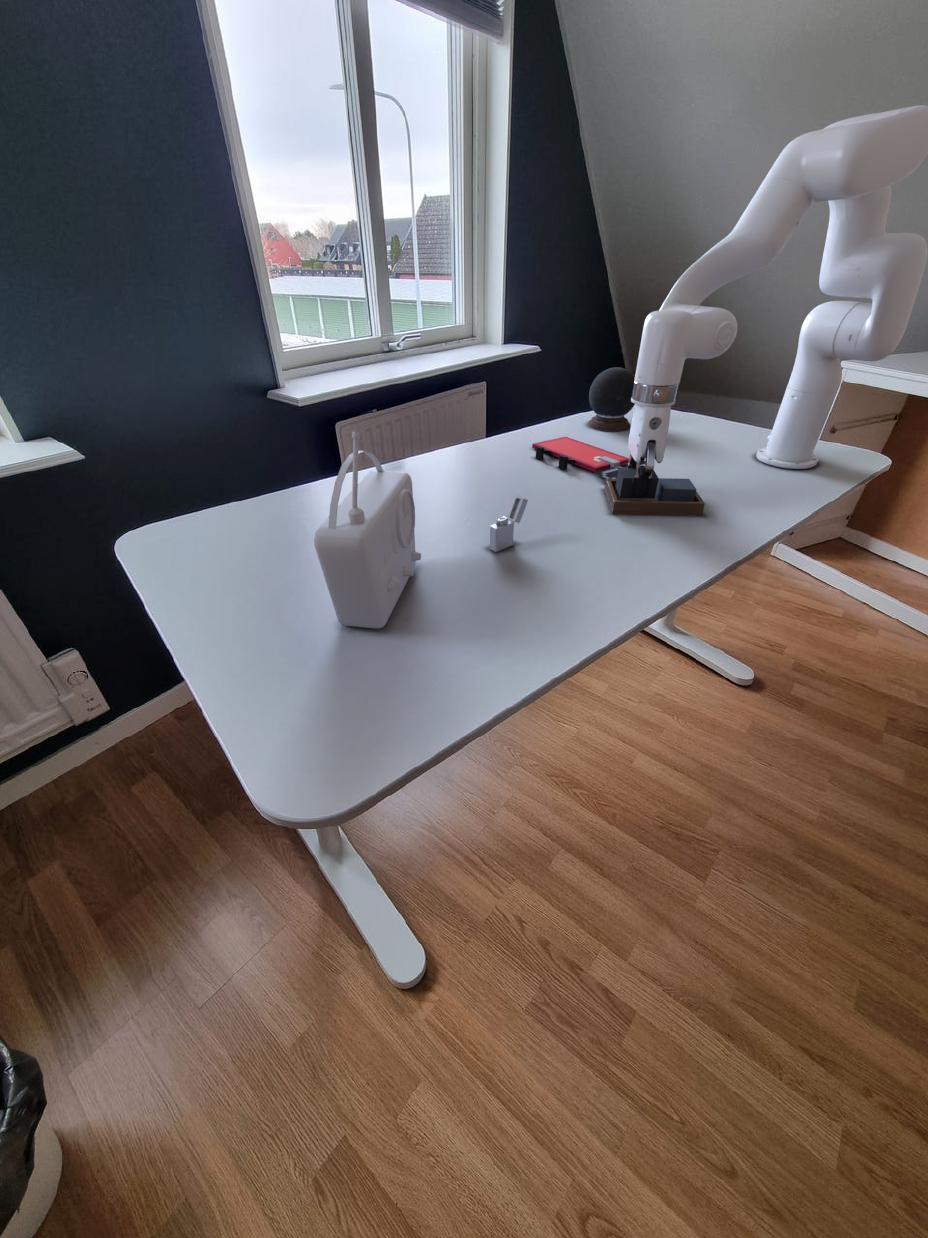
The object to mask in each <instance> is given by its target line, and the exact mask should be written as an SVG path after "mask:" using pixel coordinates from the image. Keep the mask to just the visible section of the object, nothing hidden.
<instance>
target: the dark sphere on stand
mask: <svg viewBox="0 0 928 1238" xmlns="http://www.w3.org/2000/svg"><path fill="white" fill-rule="evenodd" d="M634 379H635V375H634V374H633V373H632V372H631V371H629V370H628V369H626V368H624V367H617V366H615V367H614V366H613V367H610V368H607V369H605V370H603V371H601V372H600V373H599V374H598V375H597V376H596V377H595V378H594V379H593V381H592V383H591V385H590V388H589V393H588V401H589V406H590V408H591V409H592V411H593V412H594V414H596V415H595V416H592V417H591V418H590V420H589V421H588V426H589V428H591V429H594V430H598V431H604V432H619V431H625V430H627V429H629V428H630V422H629V420H628V419H627V418H626V417H625V416H626V415H627V414H629V413H630V412H631V411H632V409H634V408H635V403H632V402H631V397H632V391H633V386H634V381H635V380H634Z"/></svg>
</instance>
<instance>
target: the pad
mask: <svg viewBox="0 0 928 1238" xmlns="http://www.w3.org/2000/svg"><path fill="white" fill-rule="evenodd" d="M658 478H659V480H658V485H657V489H656V494H655V497H656V499H657V501H677V502H693V501H694V498H695V494H696V491H697V490H698V489H697V488H696V486H695V485H694V483H693V482H692V481H691V479H690V478H672V477H671V478H670V477H669V478H664V477H662V478H661V477H658Z"/></svg>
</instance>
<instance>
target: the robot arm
mask: <svg viewBox="0 0 928 1238" xmlns="http://www.w3.org/2000/svg"><path fill="white" fill-rule="evenodd" d="M927 156H928V105H925V104H919V105H913V106H908V107H907V106H906V107H901V108H896V109H891V110H887V111H882V112H876V113H869V114H863V115H858V116H854V117H849V118H845V119H843V120H842V119H841V120H839V121H836V122H833V123H831V124H829V125H827V126H826V127H824V128H822V129H818V130H814V131H809V132H806V133H803V134H801V135H799V136H797V137H795V138H794V139H792V140H791V141H790V142H789V143H788V144H786V146H785V147H784V148H783V149H782V151H781V152H780V153H779V155H778V156H777V158H776V160H775V161H774V163H773V164H772V166H771V167H770V168H769V169H770V170H769V171H768V173H767V174H766V176H765V177H764V179H763V181H762V182H761V184H760V185H759V187H758V189H757V190H756V192H755V194H754V195H753V197H752V198H751V200H750V201H749V203H748V204H747V206H746V208H745V210H744V211H743V212H742V214H741V216H740V218H739V220H737V223H736V224H735V226H734V227H733V229H732V230H731V231H730V232H729V234H728V235H727V236H725V237H724V238H723V239H721V240H720V241H719V242H717V243H715V245H714V246H712V247H711V248H710V249H709V250H707V251H706V252H705V253H704V254H703V255H702V256H700V257H699V258H698V259H697V260H696V261H695V262H693V263H692V264H691V265H690V266H689V267H688V268H687V269H686V270H685V271H684V272H683V273H682V274H681V275H680V276H679V277H678V279H677V280H676V282H675V283H674V284H673V286H672V288H671V289H670V291H669V293H668V295H667V296H666V298H665V299H664V301H663V302H662V305H661V306H660V308H659V310H654V311H651V312H649V314H648V315H647V316H646V318H645V320H644V322H643V323H644V324H643V328H642V333H641V340H640V346H639V351H638V357H637V363H636V369H635V375H634V377H635V379H634V380H635V381H634V386H633V391H632V397H631V402H632V403H635V405H634V407H633V412H632V413H633V414H632V419H631V423H630V427H629V428H630V429H629V435H628V442H627V448H628V451H629V453H630V454H629V457H628V458H629V461H628V464H626V465H627V466H626V468H636V473H635V477H633V480H632V485H631V491H630V498H647V495H648V490H649V486H650V481H651V477H652V472H653V471H652V470H655V462H656V463H657V464H661V463H662V462H663V461H664V457H665V451H666V445H667V441H668V440H667V439H668V434H669V428H670V423H671V422H670V421H671V412H672V406H674V405H675V404H676V401H677V396H678V392H679V387H680V383H681V380H682V379H681V378H682V375H683V369H684V366H685V361H686V360H687V359H696V360H698V359H699V360H710V359H714V358H717V357H719V356H721V355H722V354H724V353H725V352H726V351H728V349H729V348H730V347H731V346H732V345H733V343H734V342H735V339H736V337H737V335H738V321H737V318H736V317H735V315H734V314H733V313H732V312H731V311H729V309H725V308H722V307H717V306H705V305H701V304H702V303H703V302H704V301H705V300H706V299H707V298H708V297H709V296H711V294H713V293H714V292H715V291H717V290H718V289H720V288H721V287H723V286H725V285H727V284H729V283H730V282H734V281H736V280H738V279H740V278H743V277H745V276H748V275H750V274H753V273H754V272H756V271H759V270H761V269H763V268H765V267H766V266H768V265H770V264H771V263H773V262H774V261H776V259H777V258H778V257H779V255H780V254H781V253H782V251H783V249H784V248H785V247H786V244H787V243H788V242H789V240H790V239H791V237H792V236H793V234H794V232H795V231H796V230H797V228H798V227H799V225H800V224H801V222H802V220H803V218H805V216H806V214H807V213H808V211H809V210H810V208H811V207H812V206H813V205H814V204H816V203H820V202H828V206H829V207H828V208H829V219H828V225H827V231H826V238H825V243H824V249H823V254H822V259H821V264H820V271H819V277H818V278H819V279H818V280H819V281H818V286H819V289H820V292H821V293H822V294H824V295H827V296H831V297H841V298H858V299H859V298H860V299H871V302H866V301H857V300H856V301H855V300H831V301H826V302H823V303H820V304H819V305H817V306H815V307H814V308H813V309H812V310H811V311H809V312H808V313H807V315H806V316H805V319H804V320H803V322H802V325H801V327H800V330H799V331H800V332H799V337H798V345H797V350H796V354H795V355H796V356H795V360H794V364H793V367H792V370H791V373H790V376H789V380H788V382H787V385H786V388H785V392H784V394H783V397H782V399H781V400H782V401H781V403H780V406H779V409H778V412H777V415H776V417H775V421H774V423H773V427H772V429H771V432H770V434H769V435H767V440H768V441H767V444H766V447H762V448H760V449H758V450H757V451H756V454H755V457H756V459H757V460H758V461H760V463H761V462H762V463H764V464H766V465H769V466H773V467H777V468H782V469H790V470H805V469H810V468H813V467H816V466H817V464H818V462H819V458H818V457H817V455H815V454H813V453H814V451H815V449H816V446H817V445H818V444H817V443H818V442H819V439H820V436H821V434H822V431H823V429H824V426H825V424H826V421H827V419H828V416H829V414H830V411H831V408H832V406H833V404H834V401H835V399H836V397H837V394H838V392H839V389H840V386H841V384H842V379H843V368H842V364H841V359H847V360H854V361H863V362H878V361H882V360H884V359H886V358H887V357H889V356H890V355H891V354H892V353H893V352H895V350H896V349H897V347H898V346H899V345H900V343H901V341H902V340H903V337H904V334H905V332H906V329H907V327H908V324H909V321H910V318H911V315H912V311H913V308H914V306H915V301H916V298H917V296H918V292H919V289H920V285H921V282H922V279H923V275H924V272H925V268H926V265H927V261H928V244H927V241H926V239H925V238H924V237H923V236H922V235H920V234H919V233H912V232H894V233H893V232H892V233H891V232H890V233H889V232H887V231H886V225H887V219H888V215H889V211H890V207H891V200H892V187H891V186H893V185H895V184H897V183H900V182H901V181H903V180H905V179H906V178H907V177H909V176H910V175H912V174H913V173H914V172H915V171H916V170H917V169H918V168H919V167H920V166H921V164H922V163H923V161H924V160H925V159H926V157H927ZM640 468H642V469H641V470H640Z"/></svg>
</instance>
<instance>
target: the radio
mask: <svg viewBox="0 0 928 1238" xmlns="http://www.w3.org/2000/svg"><path fill="white" fill-rule="evenodd" d="M360 438H361V432H359V431H352V432H351V439H352V453H350V454H349V455H348V456H347V457H346V459H345V460H344V461H343V463H342V464H341V466H340V468H339V471H338V474H337V476H336V479H335V482H334V485H333V490H332V495H331V500H330V505H329V514H328V516H327V517H326V518H325V519H324V520H323V522H322V523H321V524H320V525H319V526H318V527H317V529H316V530H315V532H314V536H313V537H314V538H313V544H314V549H315V552H316V555H317V558H318V561H319V564H320V565H319V566H320V567H321V571H322V573H323V577H324V581H325V583H326V587H327V590H328V593H329V597H330V599H331V603H332V606H333V609H334V612H335V613H334V614H335V616H336V619H337V621H338V623H339V624H340V625H342V626H345V627H346V626H347V627H356V628H366V629H368V628H369V629H377V630H378V629H382V628H384V627H385V626H386V624H387V622H388V621H389V619H390V618H391V617H390V616H391V614H392V612H393V611H394V609H395V606H397V605H396V604H397V603H398V600H399V599H400V596H401V595H402V593H403V591H404V589H405V587H406V584H407V583H408V580H409V579H410V577H414V572H415V570H414V569H415V566H416V563H417V562H418V561H421V559H422V553H421V552H420V551H416V535H415V526H416V508H415V507H416V506H415V501H414V500H415V499H414V493H413V492H414V490H413V481H412V477H411V475H410V474H409V473H408V472H406V471H393V470H392V471H391V470H384V468H383V466H382V464H381V462H380V460H379V459H378V458H377V457H376V455H375V454H374V453H373V452H371V451H366V450H359V441H360ZM361 454H365V455H366V456H367V457H368V458H369V459H370V460H371V461H372V463H373V466H374V467H375V470H370V471H368V472H367V473H366V474H365V475H364V476H363V477H362V478H361V480H360V481H359V476H358V475H359V456H360V455H361ZM351 464H352V483H351V484H352V487H351V489H352V490H351V491H350V492H349V493H348V494H347V495H346V496H345V498H343V499H342V501H340V496H341V491H342V487H343V483H344V480H345V478H346V476H347V472H348V470H349V467H350V466H351Z"/></svg>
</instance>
